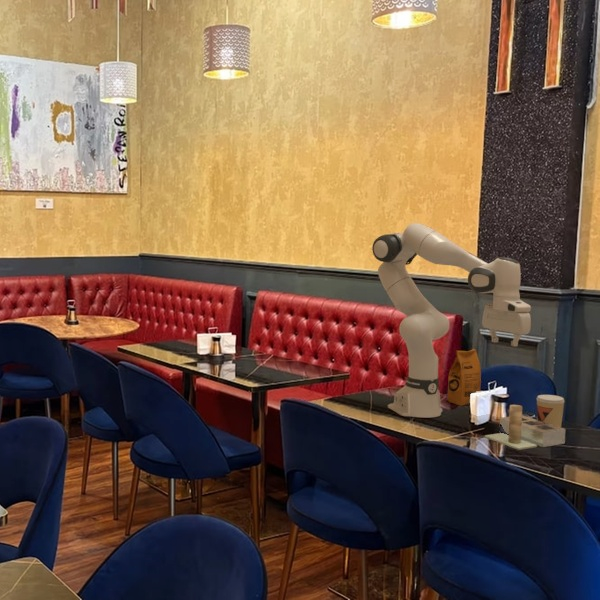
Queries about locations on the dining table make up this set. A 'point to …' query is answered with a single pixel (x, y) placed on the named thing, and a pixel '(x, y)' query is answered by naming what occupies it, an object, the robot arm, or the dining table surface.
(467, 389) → the coffee package
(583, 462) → the dining table surface
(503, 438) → the mat
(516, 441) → the plug
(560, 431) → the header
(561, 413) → the coffee cup
